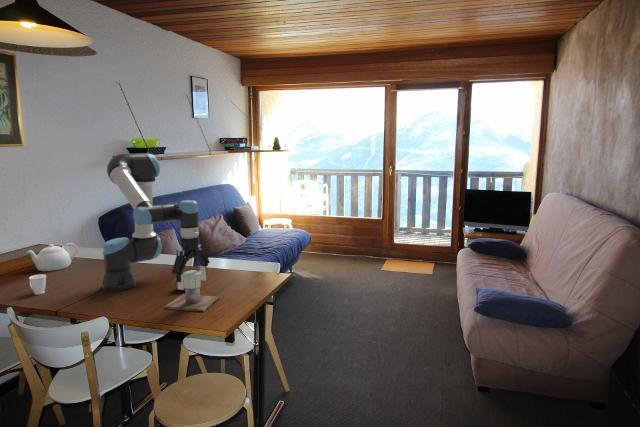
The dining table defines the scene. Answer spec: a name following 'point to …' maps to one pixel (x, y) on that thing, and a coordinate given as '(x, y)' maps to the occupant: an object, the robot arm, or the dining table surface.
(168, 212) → the robot arm
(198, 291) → the bottle on square board
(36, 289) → the cup
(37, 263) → the teapot
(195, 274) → the cap
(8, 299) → the dining table surface
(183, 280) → the apple
